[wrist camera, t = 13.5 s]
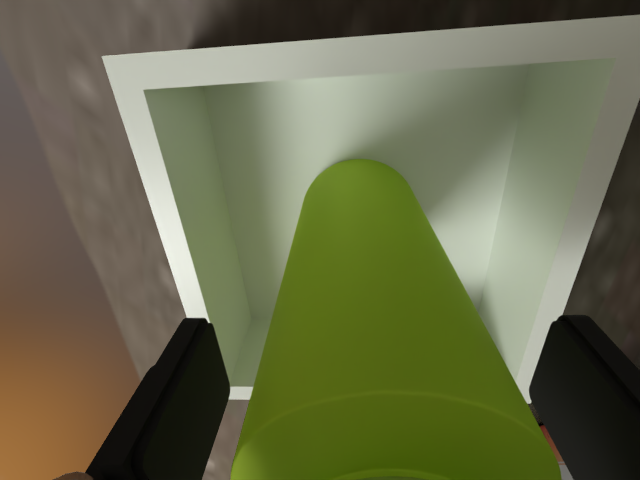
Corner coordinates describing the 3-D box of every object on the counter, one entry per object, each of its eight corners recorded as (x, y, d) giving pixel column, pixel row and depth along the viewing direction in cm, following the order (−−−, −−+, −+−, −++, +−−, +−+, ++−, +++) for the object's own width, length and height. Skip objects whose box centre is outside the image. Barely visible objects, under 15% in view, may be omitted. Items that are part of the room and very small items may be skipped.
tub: (183, 55, 16) (101, 56, 10) (550, 27, 14) (670, 12, 9) (243, 321, 23) (213, 398, 18) (485, 319, 22) (530, 403, 17)
